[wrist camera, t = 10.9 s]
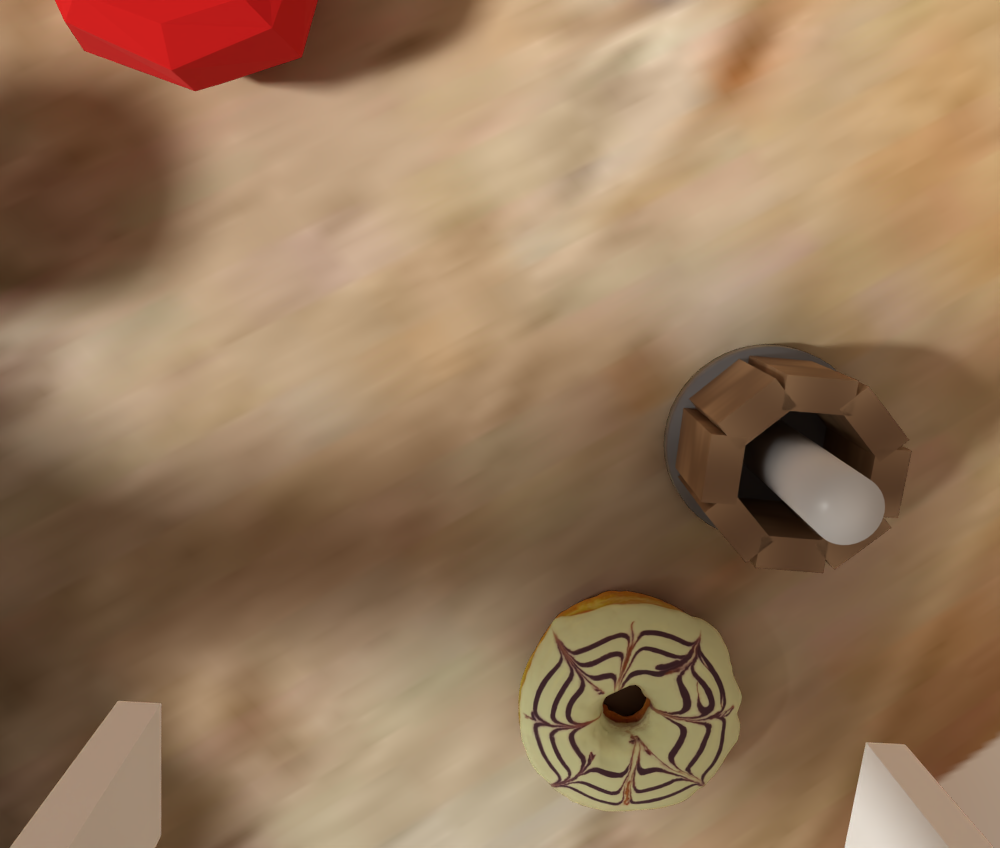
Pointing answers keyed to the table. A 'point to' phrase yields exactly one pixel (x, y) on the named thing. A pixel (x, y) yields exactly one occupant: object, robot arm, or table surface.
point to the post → (788, 462)
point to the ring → (751, 410)
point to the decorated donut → (649, 732)
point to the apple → (192, 35)
